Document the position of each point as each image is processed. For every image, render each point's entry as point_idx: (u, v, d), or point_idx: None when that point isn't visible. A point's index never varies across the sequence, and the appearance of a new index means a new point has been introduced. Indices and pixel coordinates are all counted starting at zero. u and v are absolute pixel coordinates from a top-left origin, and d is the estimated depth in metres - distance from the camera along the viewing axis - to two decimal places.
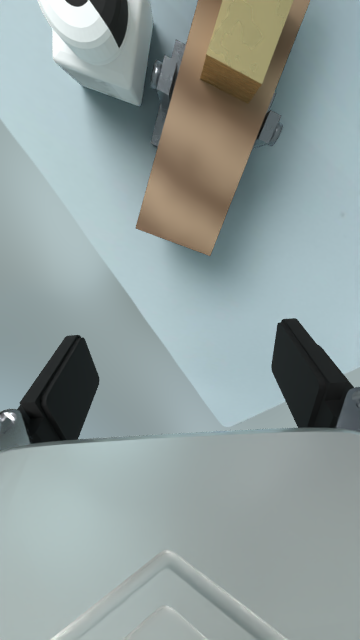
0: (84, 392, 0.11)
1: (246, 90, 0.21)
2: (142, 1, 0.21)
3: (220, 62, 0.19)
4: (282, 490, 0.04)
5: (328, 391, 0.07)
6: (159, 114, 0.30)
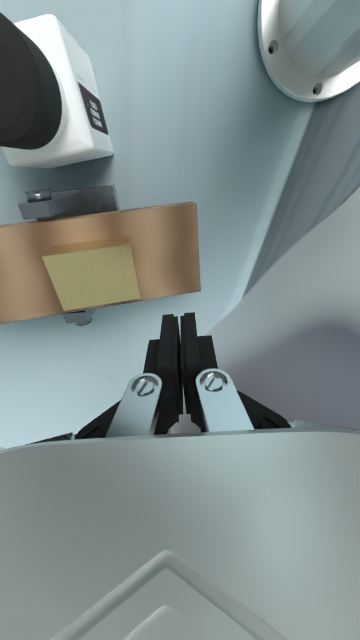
0: None
1: None
2: (76, 153, 0.20)
3: (48, 270, 0.20)
4: (281, 490, 0.04)
5: (187, 372, 0.09)
6: (54, 194, 0.28)
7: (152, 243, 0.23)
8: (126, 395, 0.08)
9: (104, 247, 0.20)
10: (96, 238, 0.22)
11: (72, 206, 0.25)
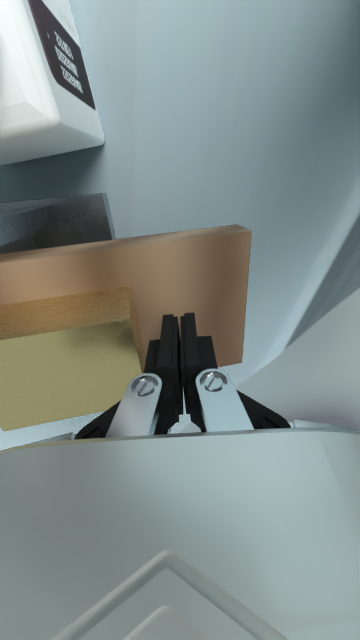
0: None
1: None
2: (27, 134, 0.10)
3: None
4: (282, 490, 0.04)
5: (187, 372, 0.09)
6: (11, 206, 0.17)
7: (168, 298, 0.13)
8: (126, 395, 0.08)
9: (77, 325, 0.10)
10: (69, 292, 0.12)
11: (34, 228, 0.15)
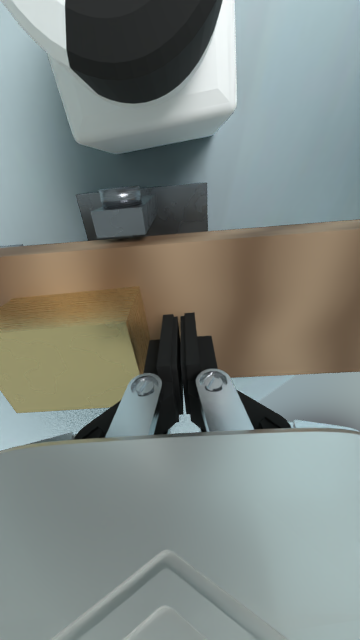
0: None
1: None
2: (201, 119, 0.11)
3: None
4: (282, 491, 0.04)
5: (187, 372, 0.09)
6: None
7: (307, 292, 0.13)
8: (126, 395, 0.08)
9: (77, 323, 0.10)
10: (211, 278, 0.12)
11: (154, 214, 0.16)
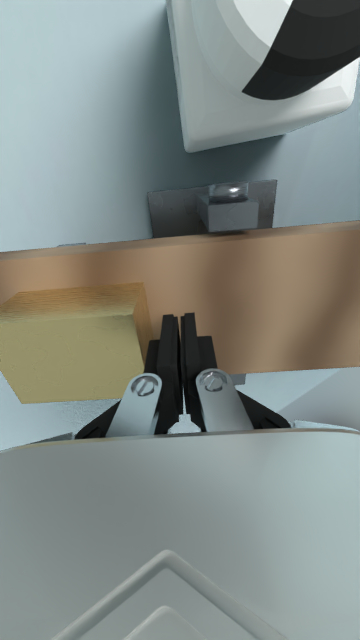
0: None
1: None
2: (315, 116, 0.11)
3: None
4: (282, 491, 0.04)
5: (187, 372, 0.09)
6: (188, 192, 0.19)
7: None
8: (126, 395, 0.08)
9: (85, 315, 0.10)
10: (315, 270, 0.12)
11: None
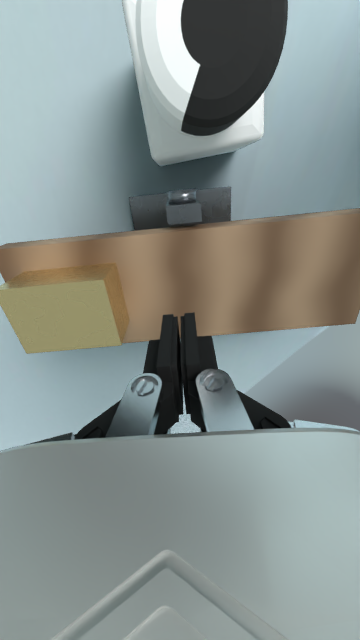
0: None
1: None
2: (239, 143, 0.16)
3: (3, 307, 0.16)
4: (282, 490, 0.04)
5: (187, 372, 0.09)
6: (161, 196, 0.23)
7: (313, 261, 0.18)
8: (126, 395, 0.08)
9: (71, 281, 0.15)
10: (246, 251, 0.17)
11: None
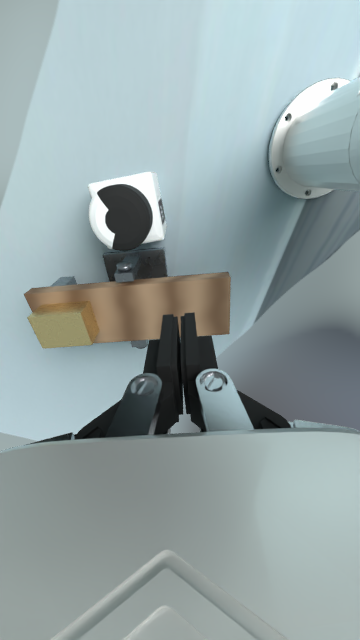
0: None
1: None
2: (152, 241, 0.31)
3: (31, 325, 0.31)
4: (281, 490, 0.04)
5: (187, 372, 0.09)
6: (122, 254, 0.39)
7: (196, 301, 0.33)
8: (126, 395, 0.08)
9: (65, 313, 0.30)
10: (158, 296, 0.32)
11: (139, 266, 0.36)
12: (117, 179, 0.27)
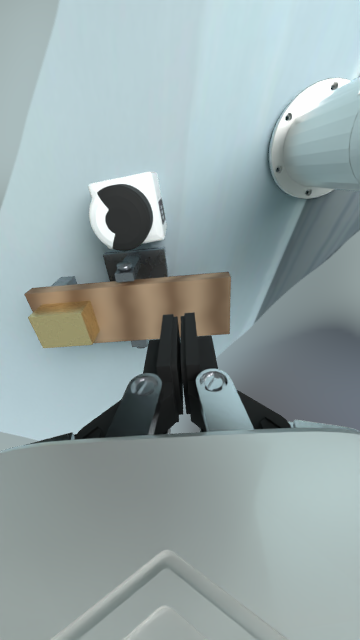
0: None
1: None
2: (152, 241, 0.31)
3: (32, 324, 0.31)
4: (282, 491, 0.04)
5: (187, 372, 0.09)
6: (122, 254, 0.39)
7: (196, 301, 0.33)
8: (126, 395, 0.08)
9: (65, 313, 0.30)
10: (158, 296, 0.33)
11: (139, 266, 0.36)
12: (117, 179, 0.27)
